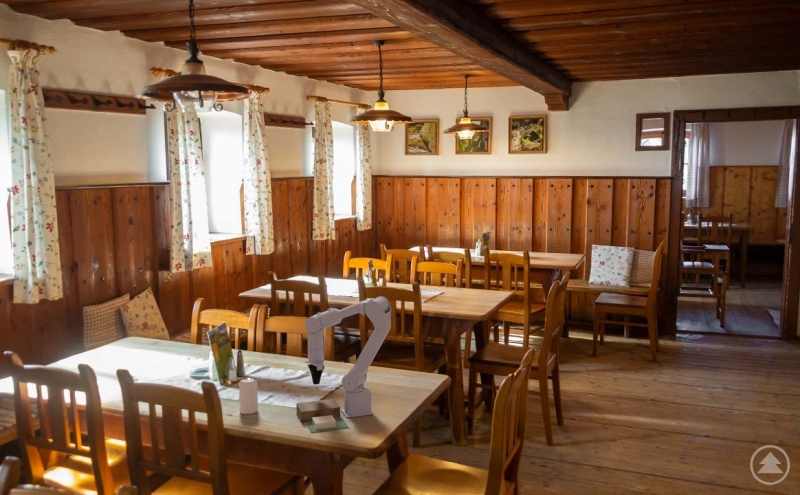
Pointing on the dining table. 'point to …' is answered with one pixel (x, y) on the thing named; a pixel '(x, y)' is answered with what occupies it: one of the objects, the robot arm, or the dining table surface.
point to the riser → (317, 409)
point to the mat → (339, 425)
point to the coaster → (323, 422)
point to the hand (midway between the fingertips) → (316, 383)
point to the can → (248, 396)
